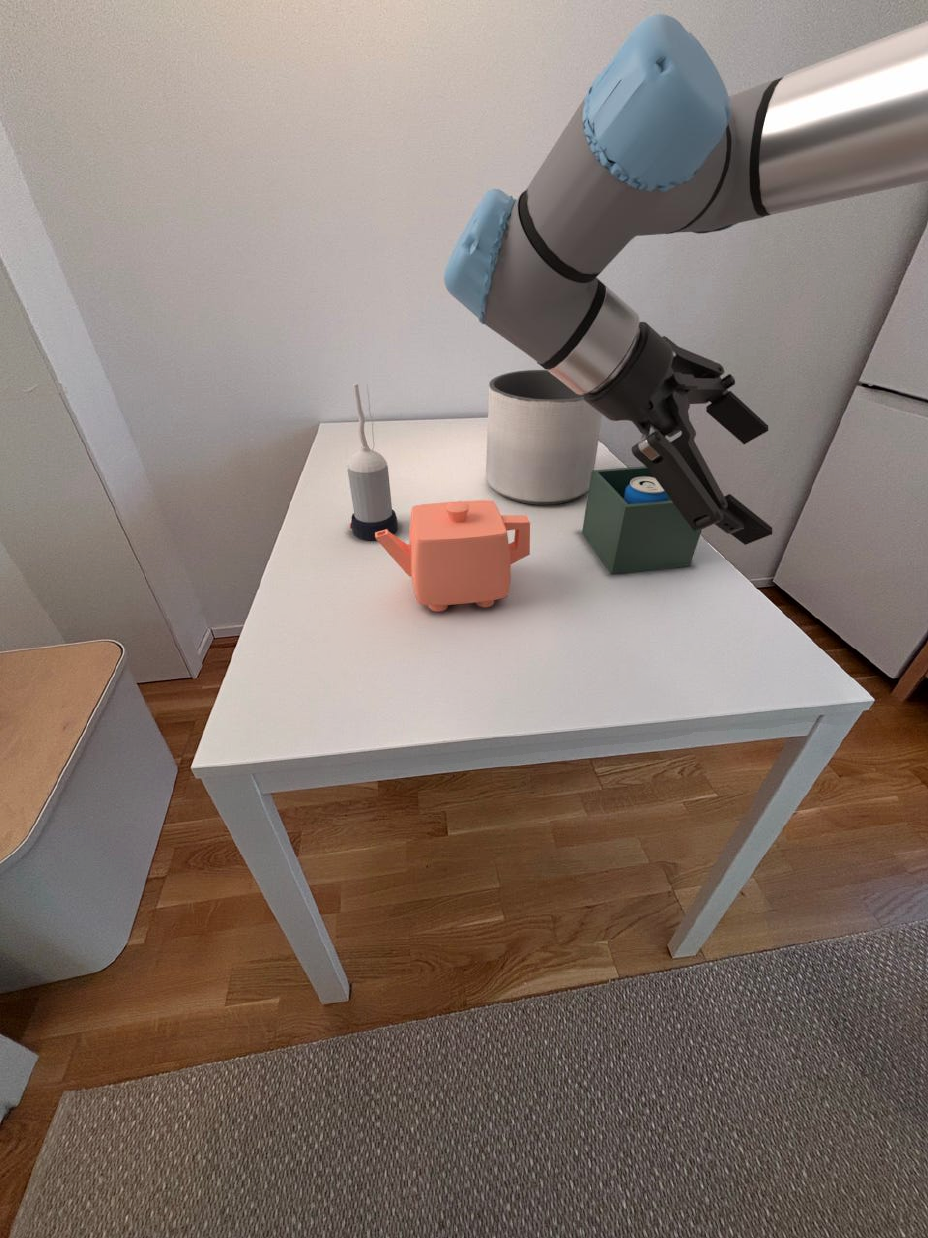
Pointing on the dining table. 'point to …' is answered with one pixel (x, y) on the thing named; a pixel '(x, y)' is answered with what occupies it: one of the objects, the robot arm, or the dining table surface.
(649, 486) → the beverage can
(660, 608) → the dining table surface
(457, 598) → the teapot
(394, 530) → the humidifier
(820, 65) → the robot arm
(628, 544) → the waste bin
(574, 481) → the planter
